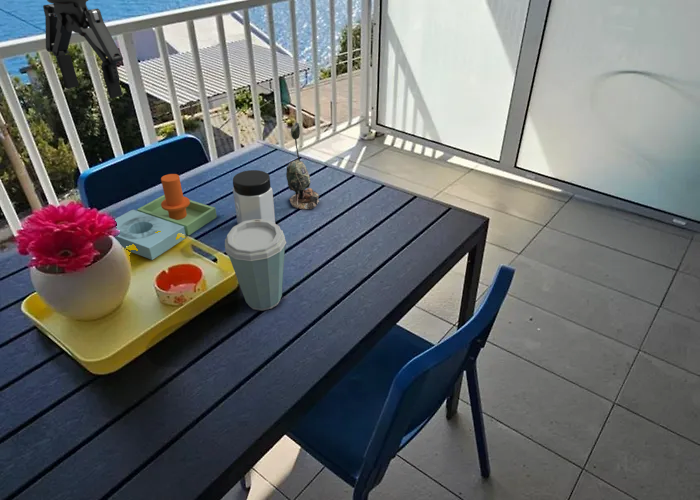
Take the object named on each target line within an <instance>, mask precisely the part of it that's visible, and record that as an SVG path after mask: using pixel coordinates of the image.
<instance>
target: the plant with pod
mask: <svg viewBox="0 0 700 500" xmlns="http://www.w3.org/2000/svg"><path fill="white" fill-rule="evenodd" d="M300 135H301V127H300V124H299V122H296V121H295V122H294V124H293V125H292V126H291V128H290V136H291V137H292V139H293V140H294V144H295V149H296V155H297V159H295V160H293V161H290V162H289V163H288V164H286V163H284V165H285V166H286V165H287V166H286V172H285V173H286V174H285V176H286V181H287V186H288V189H289V190H290V191H293V192H294V193H295V194H293V195H292V196H291V197H289V202H290V204H291V206H292V207H293V208H296V209H300V210H312V209H315V208H316V207H317V206H318V204H319V202H320V200H319V197H320V196H319V193H318V192H316V191H314V190H313V188H311V176H310V174H309V171H308V169H307V166H306V164H305V163H304V161H302V160H300V155H299V150H298V142H297V141H298V139H299V138H300Z"/></svg>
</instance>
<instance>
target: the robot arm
mask: <svg viewBox="0 0 700 500" xmlns="http://www.w3.org/2000/svg"><path fill="white" fill-rule="evenodd" d="M46 1H47V2H48V4H43V6H42V7H43V8H42V9H43V13H44V18H45V19H44V20H45V21H44V22H45V23H44V24H45V25H44V26H45V50H46V52H48V53H51V54H52V56H54V57H55V58H56V62H57V64H58V65H57V66H58V68H59V71H60V73H61V77H62V80H63V83H64V86H65V89H67V90H70V89H73V88H76V87H80V83H79V80H78V77H77V72H76V69H75V67H74V63H73V60H72V56H71V54H70V53H71V52H69V50H68V49H69V46H70V42H71V39H72V34H73V33H75V34H79V36H81V37H83V38H84V39H85V40H86V41H87V43H88V44H89V46H90V47H91V48H92V50H93V51H94V53H95V54H96V55H97V57H98V58H99V59H100V60H101V64H100V67H101V71H102V74H103V78H104V82H105V86H106V90H107V94H108V98H109V99H116V98H118V97H121V96H123V91H122V86H121V83H120V74H119V70H118V66H117V63H120V62H122V61H123V60H124V57H123V55H122V53H121V51H120V49H119V48H118V46H117V44H116V42H115V40H114V38H113V36H112V34H111V33H110V31H109V29H108V27H107V25H106V24H105V22H104V19H103V16H102V15H103V14H102V12H101V10H100V9H99V8H93V9H89V8H88V5H87V2H89V0H46Z"/></svg>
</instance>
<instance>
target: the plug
mask: <svg viewBox="0 0 700 500" xmlns="http://www.w3.org/2000/svg"><path fill="white" fill-rule="evenodd" d="M160 181H161V185H162V190H163V195H165V200H163V201H162V203H161V207H162V208H163V209H164V210H167V211H168V213H169V217H170V218H171V219H174V220H180V219H183V218H185V217H186V216H187V213H186V207H188V206H189V204H190V201H189V200H190V199H189V198H188V197H187V196H184V193H183V189H182V184H181V179H180V175H179V174H177V173H168V174H165V175H163V176H161V178H160Z"/></svg>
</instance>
